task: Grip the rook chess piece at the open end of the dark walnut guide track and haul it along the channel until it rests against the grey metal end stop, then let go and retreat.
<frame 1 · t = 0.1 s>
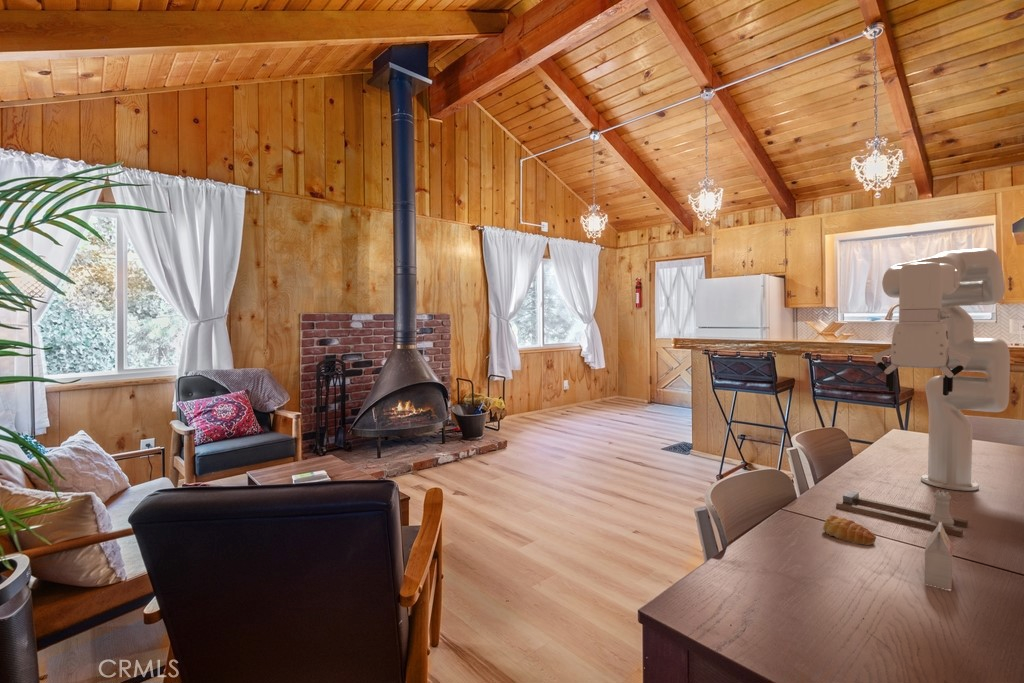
hand: (918, 392, 114), 31 cm above the table, tool pointing down, fingers open, 9 cm apart
end stop: (850, 505, 129), on the table
guide track: (898, 516, 122), on the table
white gable top carton: (938, 581, 92), on the table
pastry: (847, 537, 111), on the table
rook chess piece: (941, 527, 116), on the table
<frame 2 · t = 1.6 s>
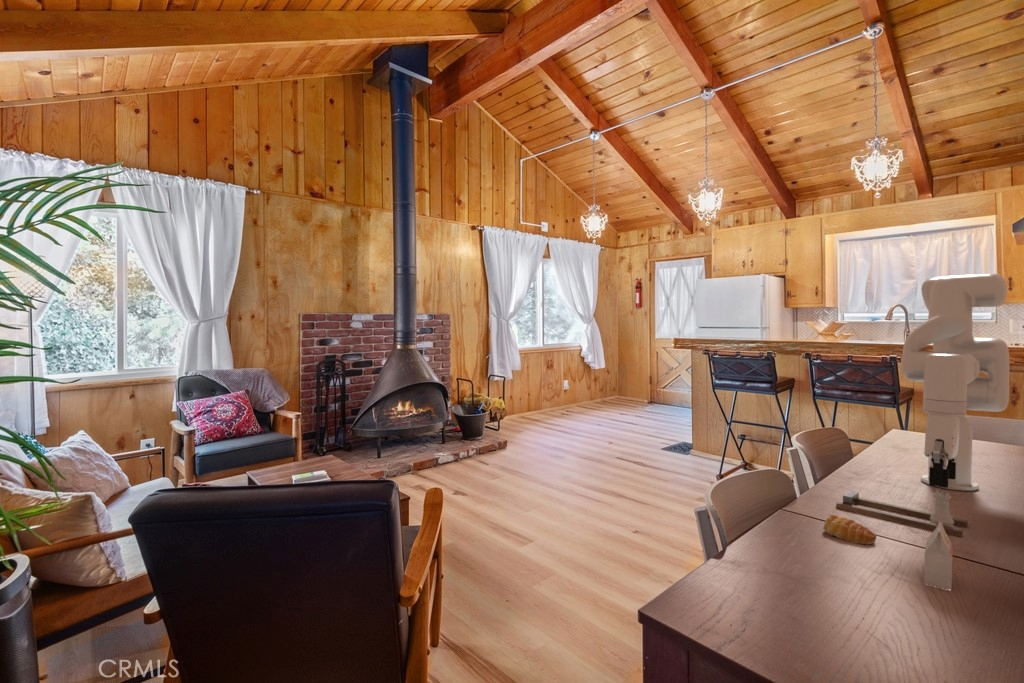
hand: (942, 481, 115), 10 cm above the table, tool pointing down, fingers open, 9 cm apart
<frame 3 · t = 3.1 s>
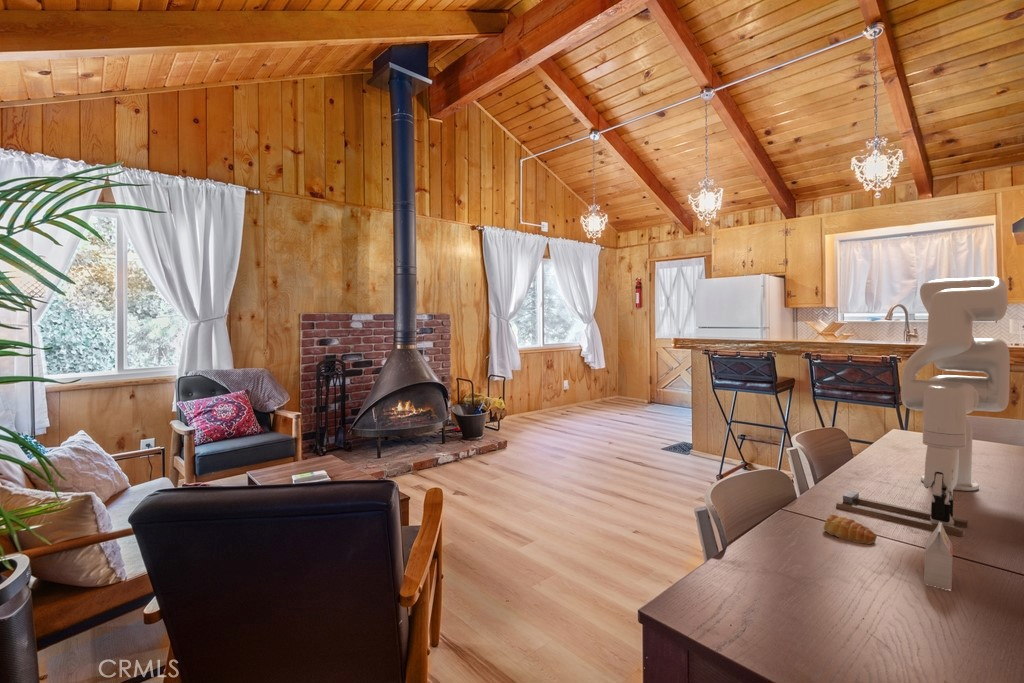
hand: (942, 517, 116), 2 cm above the table, tool pointing down, fingers closed on rook chess piece, 3 cm apart
rook chess piece: (941, 527, 116), on the table, touching gripper
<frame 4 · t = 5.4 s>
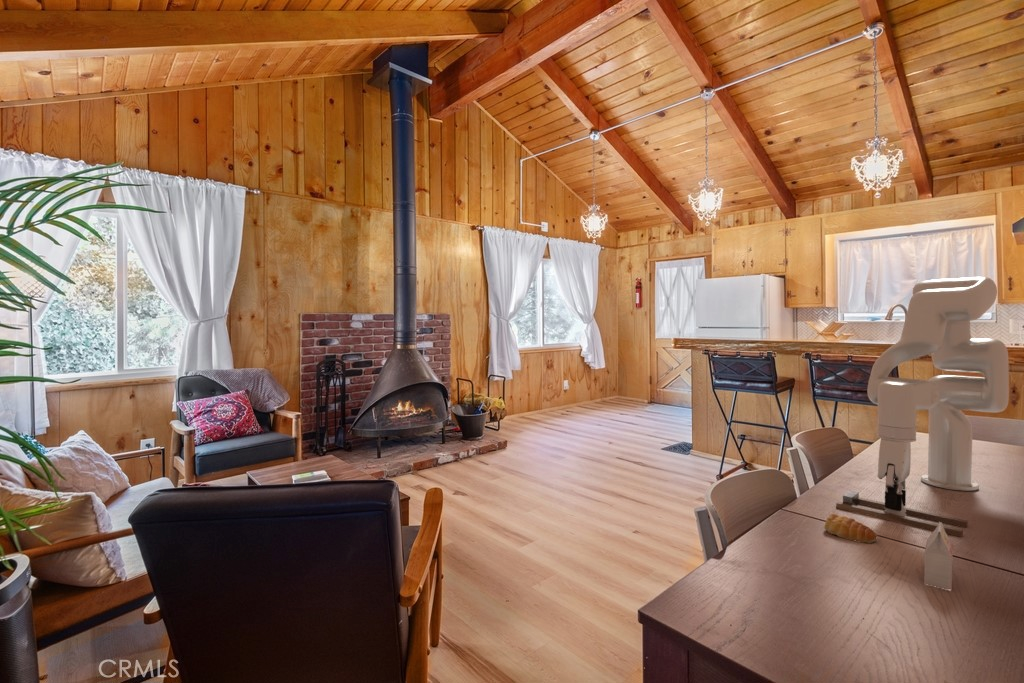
hand: (895, 506, 123), 2 cm above the table, tool pointing down, fingers closed on rook chess piece, 3 cm apart
rook chess piece: (895, 515, 123), on the table, touching gripper
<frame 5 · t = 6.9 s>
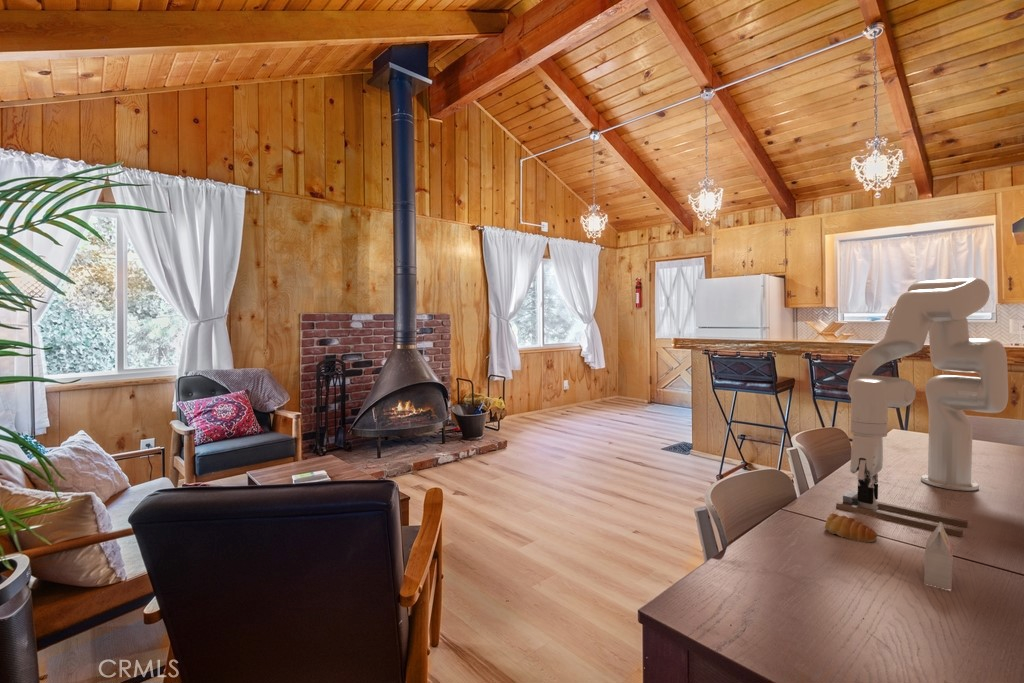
hand: (867, 499, 127), 2 cm above the table, tool pointing down, fingers closed on rook chess piece, 3 cm apart
rook chess piece: (867, 508, 127), on the table, touching gripper
when the fingers open (2 cm above the table, at t = 7.8 s): rook chess piece stays where it is, on the table.
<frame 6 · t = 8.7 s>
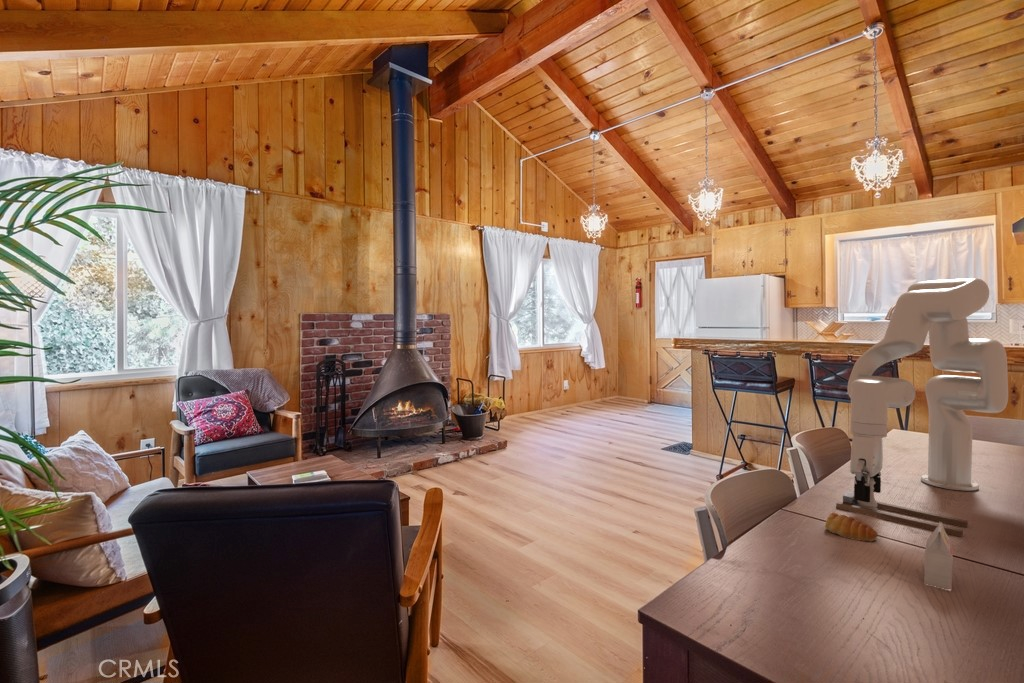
hand: (867, 496, 127), 3 cm above the table, tool pointing down, fingers open, 9 cm apart
rook chess piece: (867, 509, 127), on the table
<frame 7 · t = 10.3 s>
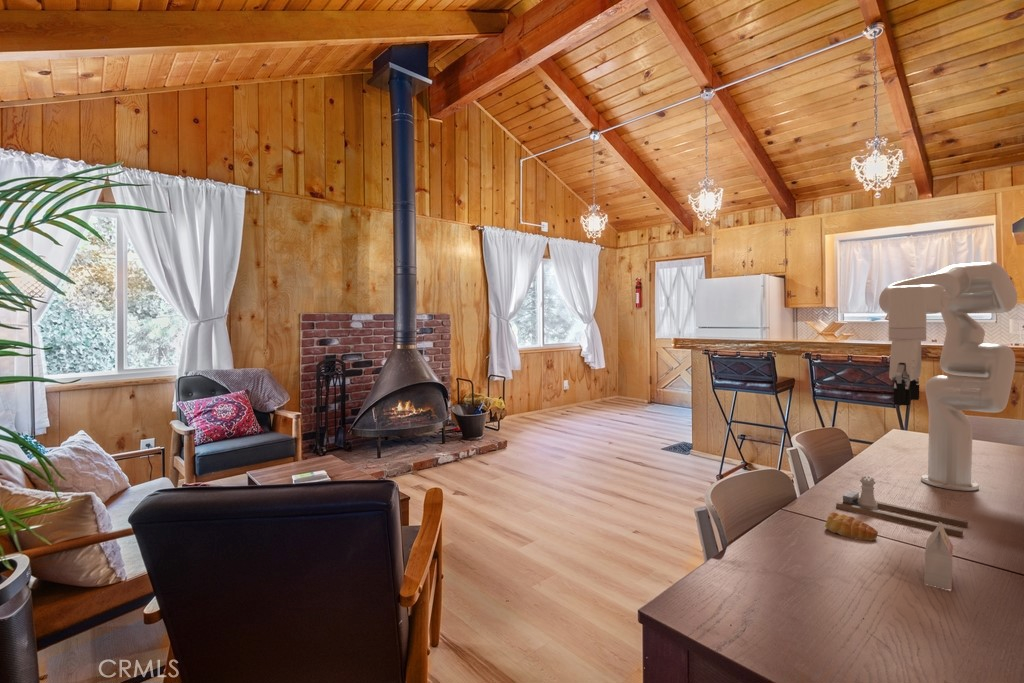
hand: (906, 402, 128), 27 cm above the table, tool pointing down, fingers open, 9 cm apart
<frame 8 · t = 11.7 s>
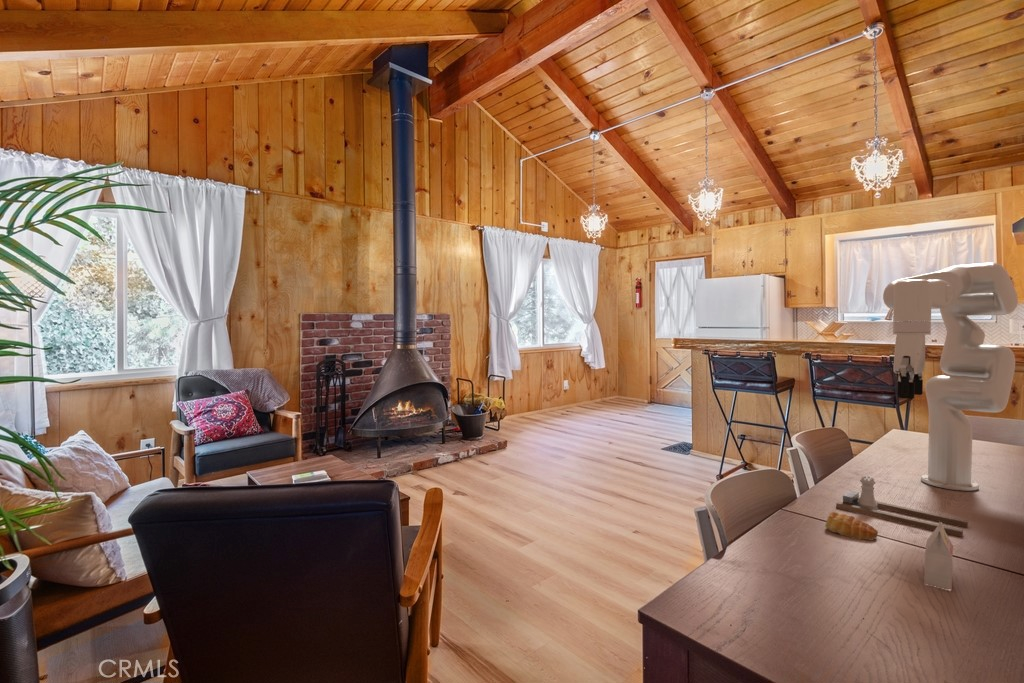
hand: (910, 396, 128), 28 cm above the table, tool pointing down, fingers open, 9 cm apart
at the end: rook chess piece 0.3 cm from the target spot on the table beside the end stop, on the table; rook chess piece tilted 0°; the gripper is holding nothing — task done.
